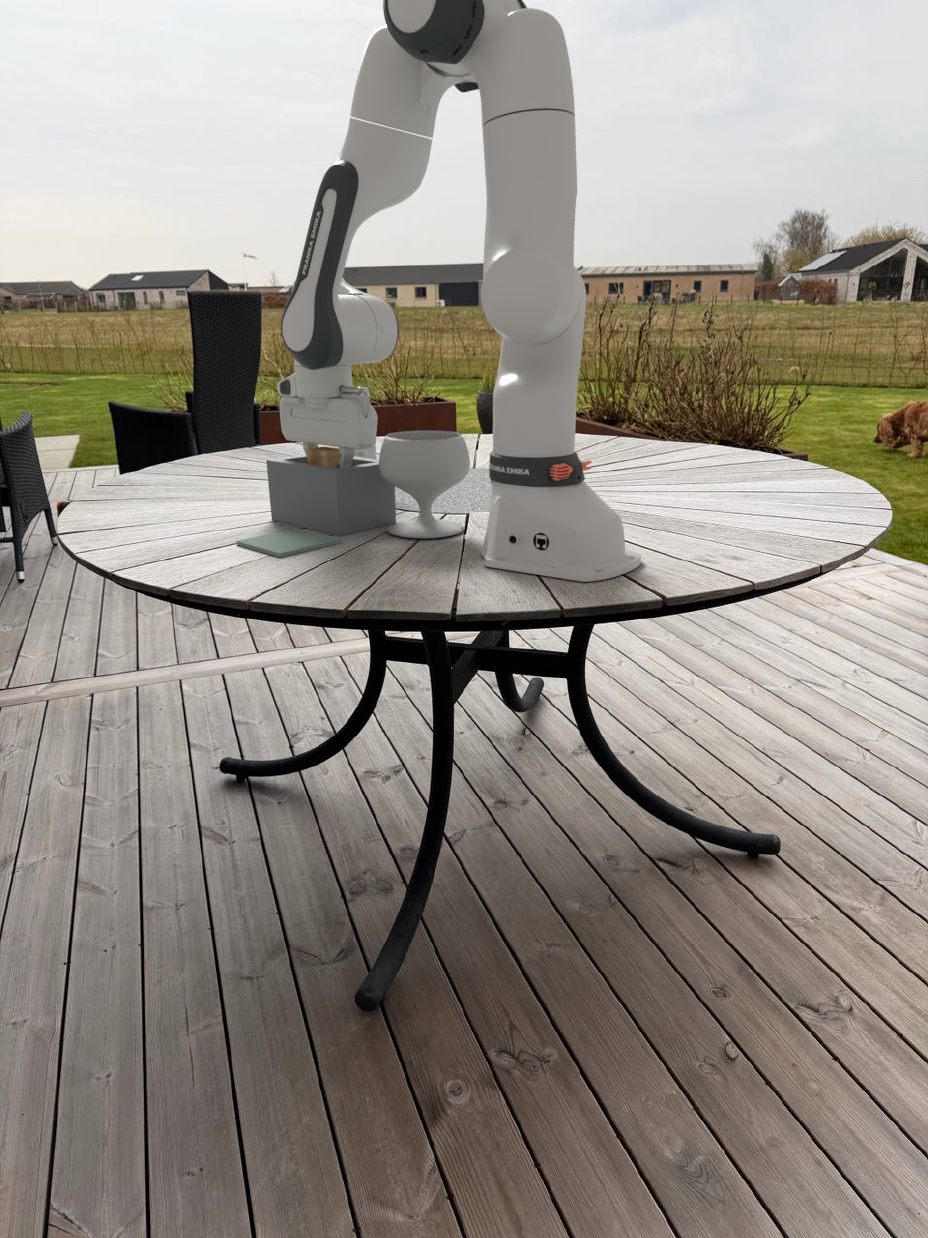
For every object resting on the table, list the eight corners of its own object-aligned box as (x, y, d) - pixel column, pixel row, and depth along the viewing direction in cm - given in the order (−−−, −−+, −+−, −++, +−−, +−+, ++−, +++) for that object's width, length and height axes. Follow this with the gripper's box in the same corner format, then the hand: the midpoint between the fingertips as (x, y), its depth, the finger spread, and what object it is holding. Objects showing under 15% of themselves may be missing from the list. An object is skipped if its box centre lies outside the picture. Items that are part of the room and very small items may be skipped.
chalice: (452, 518, 133) (450, 427, 128) (483, 537, 121) (483, 437, 116) (371, 525, 128) (367, 432, 123) (396, 545, 116) (392, 442, 111)
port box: (396, 522, 130) (393, 461, 127) (339, 535, 122) (335, 471, 118) (327, 508, 142) (323, 451, 138) (271, 519, 133) (266, 459, 130)
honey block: (352, 484, 130) (350, 448, 128) (328, 489, 126) (325, 451, 124) (333, 481, 133) (330, 445, 131) (309, 485, 130) (306, 448, 128)
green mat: (341, 542, 118) (341, 538, 118) (280, 557, 110) (279, 553, 110) (297, 531, 125) (296, 527, 125) (236, 544, 117) (236, 540, 117)
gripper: (383, 385, 120) (387, 476, 125) (301, 381, 133) (308, 464, 138) (351, 388, 115) (356, 482, 120) (270, 383, 128) (277, 468, 133)
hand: (330, 472), depth 129 cm, fingers open, 6 cm apart
